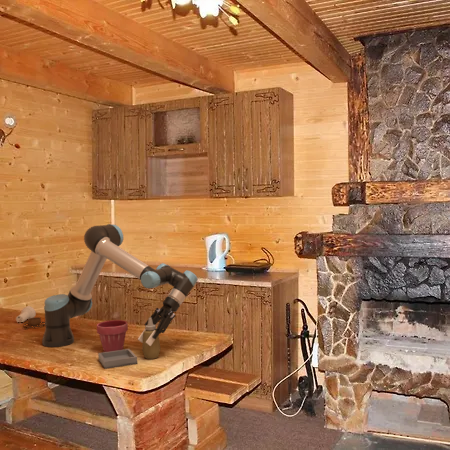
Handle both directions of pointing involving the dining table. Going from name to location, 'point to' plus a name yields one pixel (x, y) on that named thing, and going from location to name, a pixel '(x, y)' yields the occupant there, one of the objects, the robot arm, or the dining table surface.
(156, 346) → the squeeze bottle
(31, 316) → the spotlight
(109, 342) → the plant pot
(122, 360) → the tray
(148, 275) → the robot arm
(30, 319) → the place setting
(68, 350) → the dining table surface
